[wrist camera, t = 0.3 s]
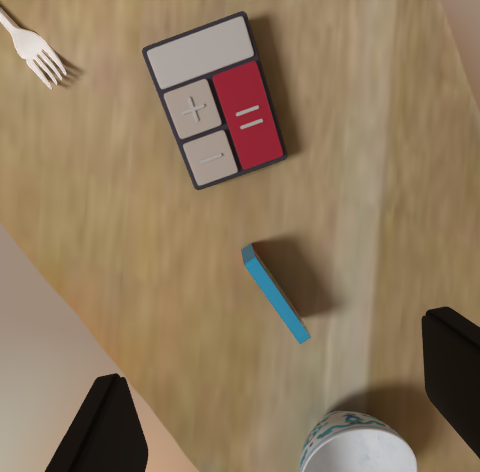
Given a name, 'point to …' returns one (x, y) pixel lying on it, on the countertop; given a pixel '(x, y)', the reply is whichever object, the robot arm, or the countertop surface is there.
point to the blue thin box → (274, 293)
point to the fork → (32, 49)
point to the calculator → (217, 100)
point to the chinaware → (355, 446)
